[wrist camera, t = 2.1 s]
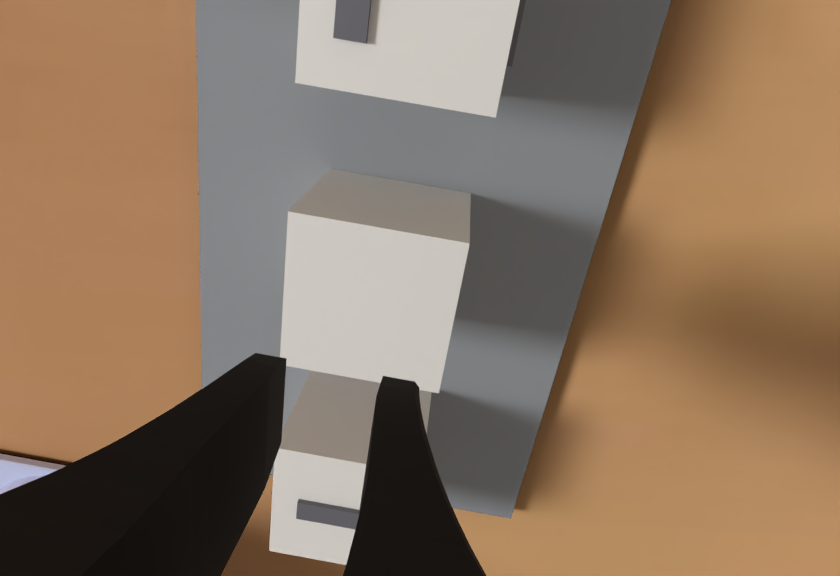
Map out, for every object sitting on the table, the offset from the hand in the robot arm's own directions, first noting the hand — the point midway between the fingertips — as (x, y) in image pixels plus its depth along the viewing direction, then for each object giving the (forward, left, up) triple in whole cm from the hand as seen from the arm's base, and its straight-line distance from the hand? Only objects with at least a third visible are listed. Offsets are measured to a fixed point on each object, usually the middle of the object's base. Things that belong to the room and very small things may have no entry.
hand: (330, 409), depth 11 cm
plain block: (0, 0, -9) cm, 9 cm away
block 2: (-8, 0, -9) cm, 12 cm away
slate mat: (0, 0, -9) cm, 9 cm away
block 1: (+8, 0, -9) cm, 12 cm away
